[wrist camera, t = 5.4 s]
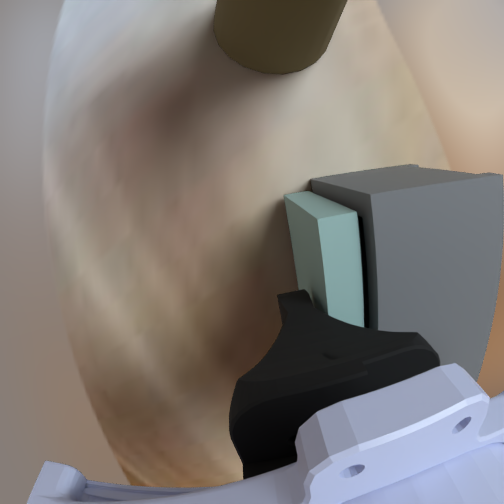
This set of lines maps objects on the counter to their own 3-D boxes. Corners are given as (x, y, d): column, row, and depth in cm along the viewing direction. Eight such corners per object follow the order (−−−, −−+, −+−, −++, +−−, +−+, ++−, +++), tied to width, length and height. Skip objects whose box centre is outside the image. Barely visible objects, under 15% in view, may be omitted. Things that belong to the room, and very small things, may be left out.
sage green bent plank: (328, 382, 18) (357, 455, 12) (311, 386, 18) (334, 462, 12) (307, 190, 14) (356, 211, 8) (283, 195, 14) (317, 218, 8)
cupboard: (411, 357, 18) (461, 422, 11) (334, 382, 18) (367, 463, 11) (410, 164, 14) (502, 174, 8) (310, 178, 14) (370, 194, 8)
